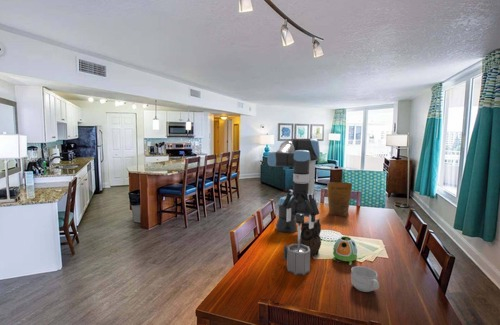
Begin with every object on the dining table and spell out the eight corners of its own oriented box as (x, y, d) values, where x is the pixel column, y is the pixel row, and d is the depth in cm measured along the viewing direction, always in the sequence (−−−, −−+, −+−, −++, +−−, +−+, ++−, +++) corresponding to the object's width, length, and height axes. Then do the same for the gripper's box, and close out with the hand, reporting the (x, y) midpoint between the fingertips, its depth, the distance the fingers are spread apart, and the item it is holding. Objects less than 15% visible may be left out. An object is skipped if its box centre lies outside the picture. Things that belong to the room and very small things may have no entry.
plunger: (287, 251, 137) (288, 214, 135) (297, 247, 142) (298, 211, 140) (300, 256, 131) (301, 217, 129) (309, 252, 137) (310, 214, 134)
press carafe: (277, 266, 140) (278, 245, 139) (291, 259, 148) (291, 240, 147) (300, 277, 130) (301, 255, 129) (313, 269, 138) (314, 248, 136)
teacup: (346, 281, 127) (347, 265, 126) (368, 281, 128) (369, 264, 127) (360, 300, 113) (362, 282, 112) (385, 299, 114) (387, 281, 113)
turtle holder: (359, 253, 156) (361, 233, 154) (354, 267, 140) (355, 245, 139) (337, 249, 162) (338, 229, 160) (330, 261, 146) (331, 240, 145)
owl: (321, 250, 159) (322, 217, 157) (319, 260, 147) (321, 224, 145) (299, 247, 163) (300, 215, 161) (296, 257, 151) (297, 222, 149)
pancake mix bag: (349, 217, 220) (351, 183, 217) (325, 214, 229) (327, 181, 226) (350, 215, 226) (352, 182, 223) (327, 212, 235) (328, 180, 232)
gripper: (276, 179, 139) (275, 219, 142) (318, 187, 121) (317, 233, 123) (285, 177, 144) (284, 216, 147) (327, 185, 126) (325, 229, 129)
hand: (299, 224), depth 135 cm, fingers open, 13 cm apart
